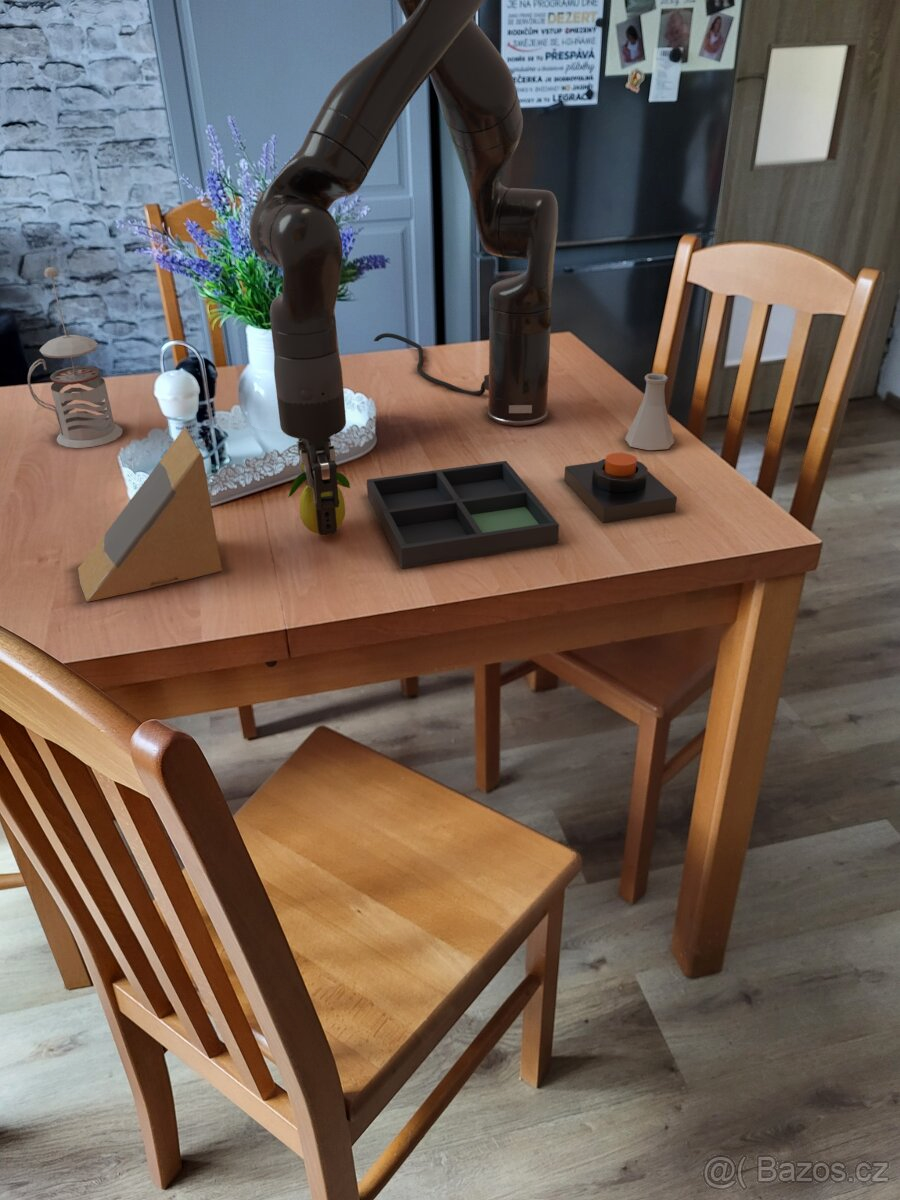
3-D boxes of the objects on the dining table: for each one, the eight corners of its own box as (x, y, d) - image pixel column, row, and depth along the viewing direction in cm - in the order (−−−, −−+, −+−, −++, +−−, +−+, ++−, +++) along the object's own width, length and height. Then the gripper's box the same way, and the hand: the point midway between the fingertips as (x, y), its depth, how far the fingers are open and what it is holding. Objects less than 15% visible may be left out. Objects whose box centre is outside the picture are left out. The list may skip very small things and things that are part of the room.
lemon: (294, 547, 113) (285, 472, 108) (300, 525, 118) (291, 451, 113) (349, 547, 113) (343, 471, 108) (353, 524, 118) (347, 450, 113)
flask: (674, 453, 135) (682, 386, 129) (623, 450, 136) (629, 384, 131) (674, 434, 141) (682, 369, 135) (625, 431, 142) (631, 367, 137)
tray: (367, 497, 124) (366, 479, 123) (505, 478, 129) (506, 460, 127) (402, 568, 108) (401, 548, 107) (558, 544, 113) (559, 524, 111)
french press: (125, 441, 141) (89, 271, 128) (44, 454, 138) (-3, 280, 124) (120, 419, 149) (84, 256, 136) (42, 430, 146) (-2, 264, 132)
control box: (564, 481, 128) (565, 453, 126) (631, 471, 130) (633, 444, 128) (603, 523, 117) (605, 494, 115) (675, 512, 119) (678, 484, 117)
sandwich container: (76, 568, 110) (44, 449, 102) (206, 539, 115) (185, 424, 107) (85, 603, 103) (52, 479, 95) (222, 571, 109) (202, 451, 100)
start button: (599, 467, 123) (600, 454, 122) (627, 463, 124) (628, 450, 123) (612, 479, 120) (613, 466, 119) (640, 475, 120) (642, 462, 119)
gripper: (355, 407, 100) (364, 543, 109) (331, 365, 112) (342, 491, 121) (285, 415, 99) (301, 552, 108) (268, 372, 110) (284, 499, 119)
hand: (322, 520), depth 114 cm, fingers open, 6 cm apart
